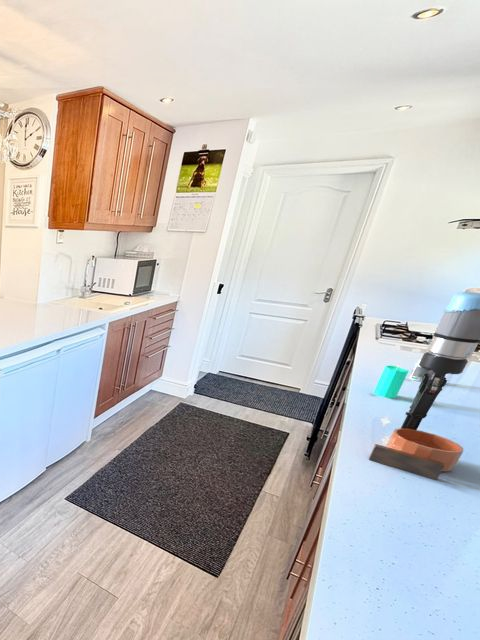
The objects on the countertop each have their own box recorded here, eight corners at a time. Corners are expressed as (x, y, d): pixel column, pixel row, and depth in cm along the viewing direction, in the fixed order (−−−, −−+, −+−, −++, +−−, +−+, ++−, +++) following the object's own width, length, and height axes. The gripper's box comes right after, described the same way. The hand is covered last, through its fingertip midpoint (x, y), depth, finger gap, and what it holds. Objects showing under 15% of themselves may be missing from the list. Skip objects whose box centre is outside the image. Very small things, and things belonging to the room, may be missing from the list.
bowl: (436, 455, 107) (447, 435, 105) (462, 478, 97) (475, 457, 95) (376, 443, 112) (385, 424, 110) (395, 464, 102) (406, 443, 100)
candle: (369, 390, 151) (383, 360, 146) (389, 393, 149) (403, 362, 145) (379, 396, 145) (394, 365, 141) (400, 399, 144) (415, 368, 139)
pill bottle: (428, 382, 162) (437, 362, 159) (412, 380, 164) (422, 361, 161) (420, 378, 166) (430, 359, 163) (406, 377, 168) (415, 357, 165)
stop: (435, 477, 97) (443, 463, 95) (436, 480, 96) (444, 466, 94) (369, 456, 105) (375, 443, 103) (368, 459, 103) (375, 446, 102)
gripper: (424, 347, 107) (386, 424, 116) (426, 356, 99) (385, 439, 108) (466, 353, 103) (423, 434, 112) (472, 364, 94) (425, 450, 103)
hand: (404, 436), depth 110 cm, fingers closed
